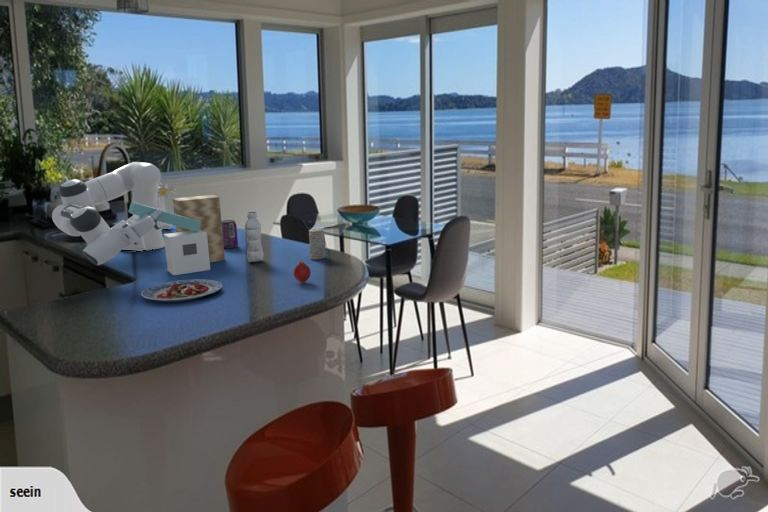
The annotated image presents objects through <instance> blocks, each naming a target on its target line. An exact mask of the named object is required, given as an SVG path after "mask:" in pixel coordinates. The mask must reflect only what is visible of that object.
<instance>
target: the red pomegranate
mask: <svg viewBox="0 0 768 512" xmlns="http://www.w3.org/2000/svg"><path fill="white" fill-rule="evenodd" d="M293 277H294V278H295V279H296V280H297V281H298V282H299V283H300V284H305V283H306V282H307V281H308V280H309V279H310V277H311V269H310V267H309V265H307V264H306V263H304V261H302V260H299V263H298V264H296V265H295V267H294V269H293Z"/></svg>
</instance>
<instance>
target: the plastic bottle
mask: <svg viewBox="0 0 768 512" xmlns="http://www.w3.org/2000/svg"><path fill="white" fill-rule="evenodd" d="M246 215H247V216H246V218H247V220H246V222H245V223H244V230H245V234H246V241H247V253H246V257H247V261H248V262H249V263H258V262H262V261H263V260H264V255H265V254H264V251H263V246H262V236H261V235H262V234H261V231H262V224H261V222H260V221H259V220H258V218H257V217H258V213H257V212H256V211H249V212H247V213H246Z"/></svg>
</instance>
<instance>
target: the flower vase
mask: <svg viewBox="0 0 768 512" xmlns="http://www.w3.org/2000/svg"><path fill="white" fill-rule="evenodd" d="M177 189H178V188H177V187H176V186H173V183H172V182H171V181H170V182H168V183H162V182H161V181H160V182H159V185H158V195H157V202H158V209H160V210H162V211H166V212H167V210H166V203H165V199H168V198H169V196H168V194H169V193H173V194H175V195H178V194H177V192H176V190H177ZM172 227H173V225H171V224H167V223H164V222H161V229H169V230H171V229H170V228H172Z"/></svg>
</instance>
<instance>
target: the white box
mask: <svg viewBox="0 0 768 512" xmlns="http://www.w3.org/2000/svg"><path fill="white" fill-rule="evenodd" d="M163 239H164V242H165V247H164V249H165V257H166V268H167V272H169V273H170V274H171V275H172V276H178V275H184V274H192V273H197V272H205V271H211V262H210V260H209V250H208V239H207V233H206V232H204V231H202V230H199V231H198V232H196V231H185V232H177V233H176V232H170V233H163Z"/></svg>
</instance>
